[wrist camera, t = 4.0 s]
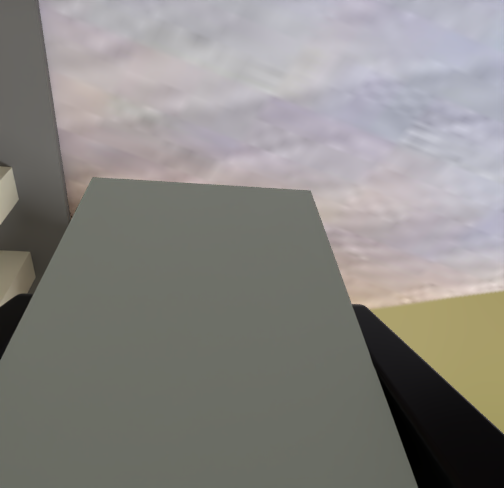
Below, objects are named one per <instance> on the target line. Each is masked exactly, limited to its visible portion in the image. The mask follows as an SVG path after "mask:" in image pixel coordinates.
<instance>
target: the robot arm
mask: <svg viewBox="0 0 504 488" xmlns="http://www.w3.org/2000/svg"><path fill="white" fill-rule="evenodd" d="M32 296H33V294H31V293H21V294H18V295H16V296H14V297H13V298H11V299H10V300H9V301H7V302H6V303H4V304H3V305H2V306H0V360H1V358H2V356H3V354H4V352H5V350H6V348H7V346H8V344H9V342H10V340H11V338H12V336H13V334H14V332H15V330H16V328H17V326H18V324H19V322H20V320H21V318H22V316H23V314H24V312H25V310H26V308H27V306H28V304H29V302H30V300H31V298H32ZM352 307H353V309H354V312H355V315H356V318H357V320H358V323H359V326H360V329H361V331H362V334H363V337H364V340H365V342H366V345H367V348H368V351H369V354H370V357H371V360H372V363H373V366H374V368H375V370H376V373H377V376H378V378H379V381H380V384H381V387H382V389H383V392H384V395H385V398H386V400H387V403H388V406H389V409H390V411H391V414H392V417H393V420H394V423H395V425H396V428H397V431H398V434H399V436H400V439H401V442H402V445H403V447H404V450H405V453H406V456H407V458H408V461H409V464H410V467H411V469H412V472H413V475H414V478H415V480H416V483H417V486H418V488H504V434H503V433H502V432H501V431H500V430H499V429H498V428H497V427H496V426H494V425H493V424H492V423H491V422H490V421H489V420H488V419H487V418H486V417H485V416H484V415H483V414H481V413H480V412H479V411H478V410H477V409H476V408H475V407H474V406H473V405H472V404H471V403H470V402H468V401H467V400H466V399H465V398H464V397H463V396H462V395H461V394H460V393H459V392H458V391H457V390H455V389H454V388H453V387H452V386H451V385H450V384H449V383H448V382H447V381H446V380H445V379H444V378H442V377H441V376H440V375H439V374H438V373H437V372H436V371H435V370H434V369H433V368H432V367H431V366H430V365H428V364H427V363H426V362H425V361H424V360H423V359H422V358H421V357H420V356H419V355H418V354H416V353H415V352H414V351H413V350H412V349H411V348H410V347H409V346H408V345H407V344H406V343H404V341H402V340H401V339H400V338H399V337H398V336H397V335H396V334H395V333H394V332H393V331H392V330H391V329H389V328H388V327H387V326H386V325H385V324H384V323H383V322H382V321H381V320H380V319H379V318H378V317H376V316H375V315H374V314H373V313H372V312H371V311H370V310H369V309H368V308H367V307H365V306H364V305H360V304H352Z"/></svg>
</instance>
